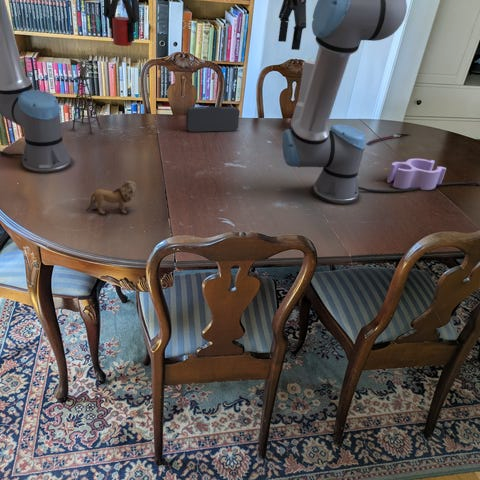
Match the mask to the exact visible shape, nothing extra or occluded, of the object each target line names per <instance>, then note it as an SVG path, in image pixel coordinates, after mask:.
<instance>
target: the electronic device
mask: <svg viewBox="0 0 480 480" xmlns="http://www.w3.org/2000/svg"><path fill="white" fill-rule="evenodd" d="M315 60H316V59H311V58H307V59H305V60H304V62H303V68H302V73H301V79H300V85H299V92H298V98H297V102H296V104H295V107H294V111H293V114H292V117H291V120H290V127H291V128H292V125H293V122H294V121H295V120H297V119H299V118H300V114H301V111H302V107H303V104H304V100H305V96H306V93H307V89H308V85H309V82H310V78H311V74H312V71H313V67H314V64H315Z"/></svg>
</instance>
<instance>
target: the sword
mask: <svg viewBox="0 0 480 480" xmlns="http://www.w3.org/2000/svg"><path fill="white" fill-rule="evenodd" d="M401 134H402V133H396V134H392V135H389V136H383V137H379V138H376V139H372V140H370V141H368V143H367V144H368V145H372V144H373V143H377V142H381V141H384V140H389V139H393V138H400V137H402V136H406V135H409V134H404V135H401Z"/></svg>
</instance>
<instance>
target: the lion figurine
mask: <svg viewBox="0 0 480 480" xmlns="http://www.w3.org/2000/svg"><path fill="white" fill-rule="evenodd" d="M136 194H137V185H136V182H134V181H132V180H127V181H124V182H123V184H121V185H120V186H119V187H118V188H116V189H115V190H107V189H100V188H99V189H96V190H94V191H93V192H92V193H91V196H90V200H89V201H90V202H89V206H88V207H87V208H86V209H85V212H89V211H90V209H92V210H96V209H97V210H98V211H99V213H100V214H102V215H104V214H106V211H105V210H103V209H102V207H103V203H104V201H105V202H107V203H109V204H118V207H119V209H120V211H121V213H123V214H126V213H127V210H126V209H125V207H126V203H130V202H131V201H132V199H133V198H134V197H135V195H136ZM95 204H97V206H96V205H95Z"/></svg>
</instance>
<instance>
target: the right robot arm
mask: <svg viewBox="0 0 480 480" xmlns="http://www.w3.org/2000/svg"><path fill="white" fill-rule="evenodd" d="M407 10H408V4H407V0H317V1H316V4H315V6H314V9H313V12H312V13H313V14H312V21H311V30H312V33H313V36H315V43H316V44H317V45H318V50H317V53H316V56H315V59H314V60H315V64H314V67H313V71H312V74H311V78H310V82H309V85H308V89H307V93H306V96H305V100H304V104H303V107H302V111H301V114H300V118H299V119H297V120H295V121H294V122H293V125H292V127H291V129H290V128H287V129H284V131H283V133H282V143H281V144H282V154H283V159H284V162H285V164H286V165H287V166H289V167H295V168H322V170H321V172H320V173H319V176H318V177H317V179H316V181H314V184H313V187H312V188H313V189H312V191H313V194H314V195H315V196H316V197H317V198H318V199H320V200H322V201H325V202H327V203H331V204H336V205H349V204H352V203H355V202H356V201H357V200H358V198H359V190H362V191H366V192H371V193H372V192H373V193H385V194H386V193H403V192H411V191H416V190H422V189H421V187H416V188H407V189H372V188H365V187H362V186H359V182H358V174H359V171H360V166H361V163H362V159H363V154H364V151H365V149H366V141H367V136H366V134H365V133H364V132H363V131H361V130H360V129H358V128H355V127H353V126H351V125H345V124H340V123H334V124H332V125H331V127H330V128H329V127H328V123H329V120H330V117H331V114H332V111H333V108H334V106H335V102H336V99H337V95H338V93H339V89H340V88H341V83H342V81H343V78H344V75H345V72H346V69H347V65H348V63H349V60H350V57H351V55H352V54H355V53H356V52H358V50H359V49H360V44H361V42H362V41H377V42H378V41H381V40H385V39H387V38H389V37H390V36H392V35H394V34H395V33H396V32H397V31H398V30H399V29H400V27H401V26H402V24H403V23H404V21H405V18H406V16H407V15H406V14H407ZM292 12H293V15H294V16H293V17H294V24H295V25H294V26H293V35H292V40H291V41H292V42H291V50H293V51H294V50H295V51H300V50H301V49H300V48H301V41H302V35H303V31H304V29H307V0H283V1H282V4H281V7H280V11H279V13H278V19H279V21H280V22H279V23H280V24H279V31H278V40H277V41H278V42H279V43H280V42H281V43H282V42H283V43H285V42H287V37H288V30H289V29H288V28H289V22H290V16H291V15H292ZM465 182H466V181H465ZM465 182H463V181H462V182H461V181H459V182H457V181H456V182H454V181H453V182H441V184H436V187H441V186H442V187H443V186H452V185H454V186H455V185H472V184H474V185H477V186H478V187H480V183H479V182H478V181H473V180H472V181H468V182H469V183H465ZM477 183H479V184H477Z"/></svg>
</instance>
